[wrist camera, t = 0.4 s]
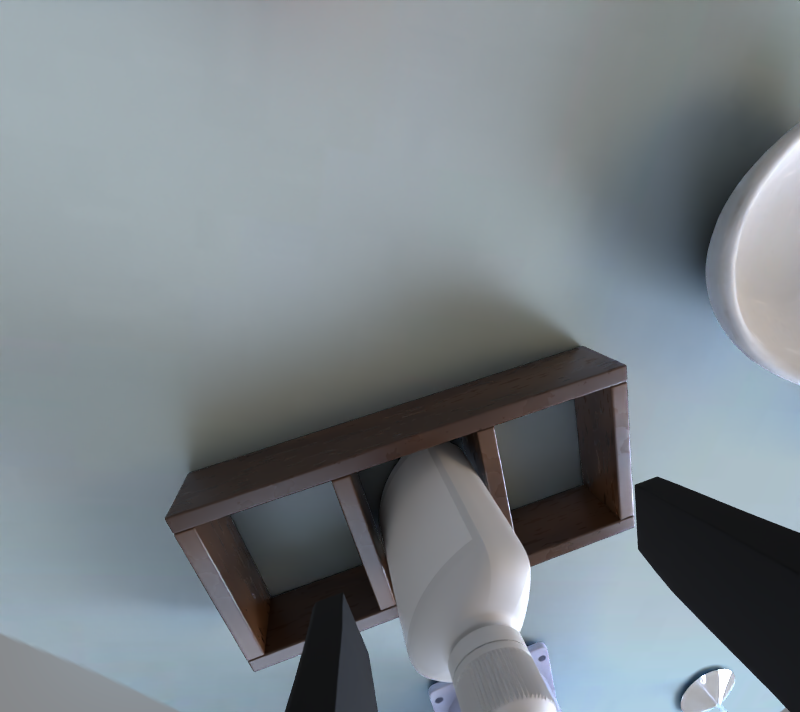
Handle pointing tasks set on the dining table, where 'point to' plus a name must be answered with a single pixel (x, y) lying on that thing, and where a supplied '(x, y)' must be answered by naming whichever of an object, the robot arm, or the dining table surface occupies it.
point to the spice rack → (387, 440)
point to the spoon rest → (761, 261)
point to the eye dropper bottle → (460, 583)
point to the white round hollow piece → (708, 692)
